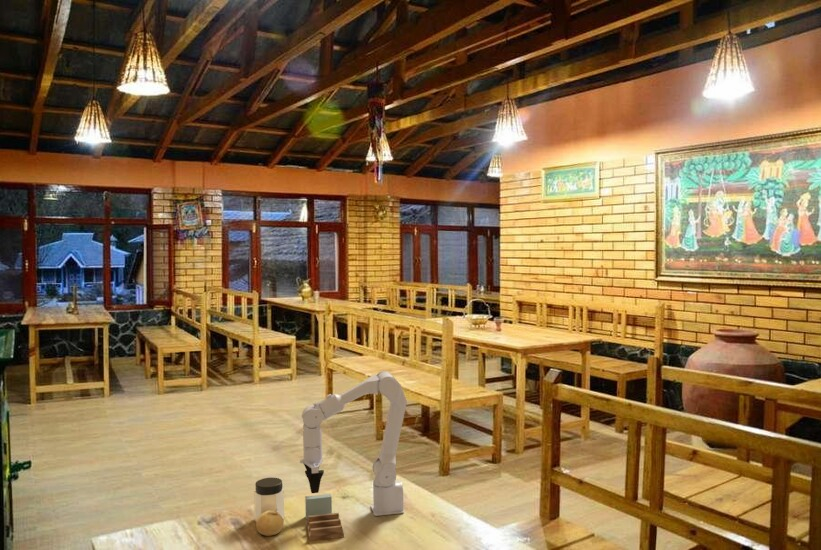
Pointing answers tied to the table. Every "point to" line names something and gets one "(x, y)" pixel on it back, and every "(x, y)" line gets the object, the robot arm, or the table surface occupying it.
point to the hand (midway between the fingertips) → (313, 488)
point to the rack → (324, 526)
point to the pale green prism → (318, 505)
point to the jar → (269, 496)
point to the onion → (269, 523)
